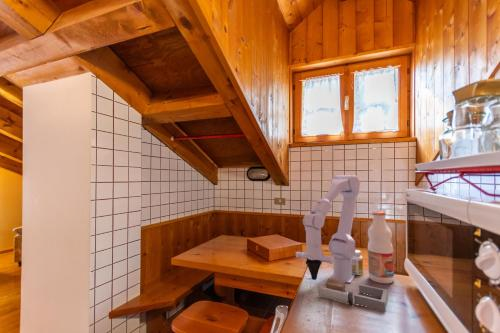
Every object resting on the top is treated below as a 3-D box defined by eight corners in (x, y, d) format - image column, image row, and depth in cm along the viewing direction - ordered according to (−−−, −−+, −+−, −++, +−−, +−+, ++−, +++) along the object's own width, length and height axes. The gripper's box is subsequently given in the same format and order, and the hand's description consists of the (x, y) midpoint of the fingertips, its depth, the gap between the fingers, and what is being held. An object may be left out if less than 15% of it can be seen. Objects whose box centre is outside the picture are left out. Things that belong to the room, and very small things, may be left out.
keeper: (353, 304, 85) (353, 292, 85) (352, 306, 83) (352, 294, 84) (319, 295, 91) (318, 284, 91) (317, 297, 90) (317, 286, 90)
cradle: (359, 292, 94) (359, 283, 94) (387, 298, 89) (387, 289, 89) (354, 304, 85) (354, 295, 85) (384, 312, 80) (384, 302, 80)
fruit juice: (370, 273, 111) (368, 210, 112) (395, 277, 106) (392, 211, 107) (367, 280, 103) (364, 212, 104) (393, 286, 98) (390, 214, 99)
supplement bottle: (362, 271, 114) (361, 249, 114) (364, 275, 108) (363, 253, 109) (349, 270, 115) (348, 248, 115) (350, 274, 110) (350, 252, 110)
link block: (329, 289, 97) (328, 278, 97) (345, 292, 94) (344, 281, 94) (325, 294, 93) (325, 283, 93) (343, 298, 90) (342, 286, 90)
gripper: (292, 243, 99) (292, 278, 98) (329, 249, 91) (330, 287, 90) (299, 239, 105) (299, 272, 104) (334, 244, 97) (335, 280, 96)
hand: (314, 278), depth 98 cm, fingers closed
